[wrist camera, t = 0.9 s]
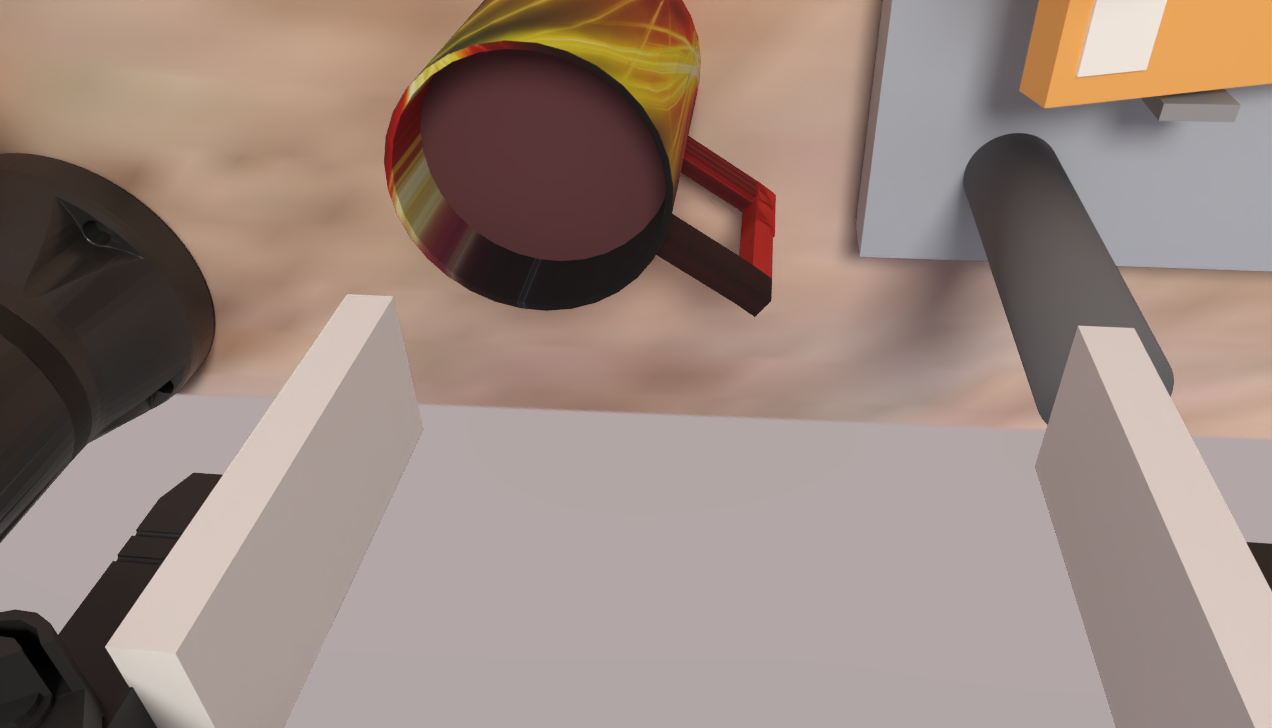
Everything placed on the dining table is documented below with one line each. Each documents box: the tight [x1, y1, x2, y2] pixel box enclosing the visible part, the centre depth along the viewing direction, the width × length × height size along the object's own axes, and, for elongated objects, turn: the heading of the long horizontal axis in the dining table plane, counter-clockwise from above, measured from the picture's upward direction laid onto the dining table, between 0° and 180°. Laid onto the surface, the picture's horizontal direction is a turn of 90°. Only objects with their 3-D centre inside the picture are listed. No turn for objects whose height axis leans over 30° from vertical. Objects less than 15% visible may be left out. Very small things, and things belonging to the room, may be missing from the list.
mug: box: [384, 0, 776, 317], centre depth 35 cm, size 10×14×12 cm
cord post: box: [963, 133, 1174, 424], centre depth 32 cm, size 4×4×14 cm
